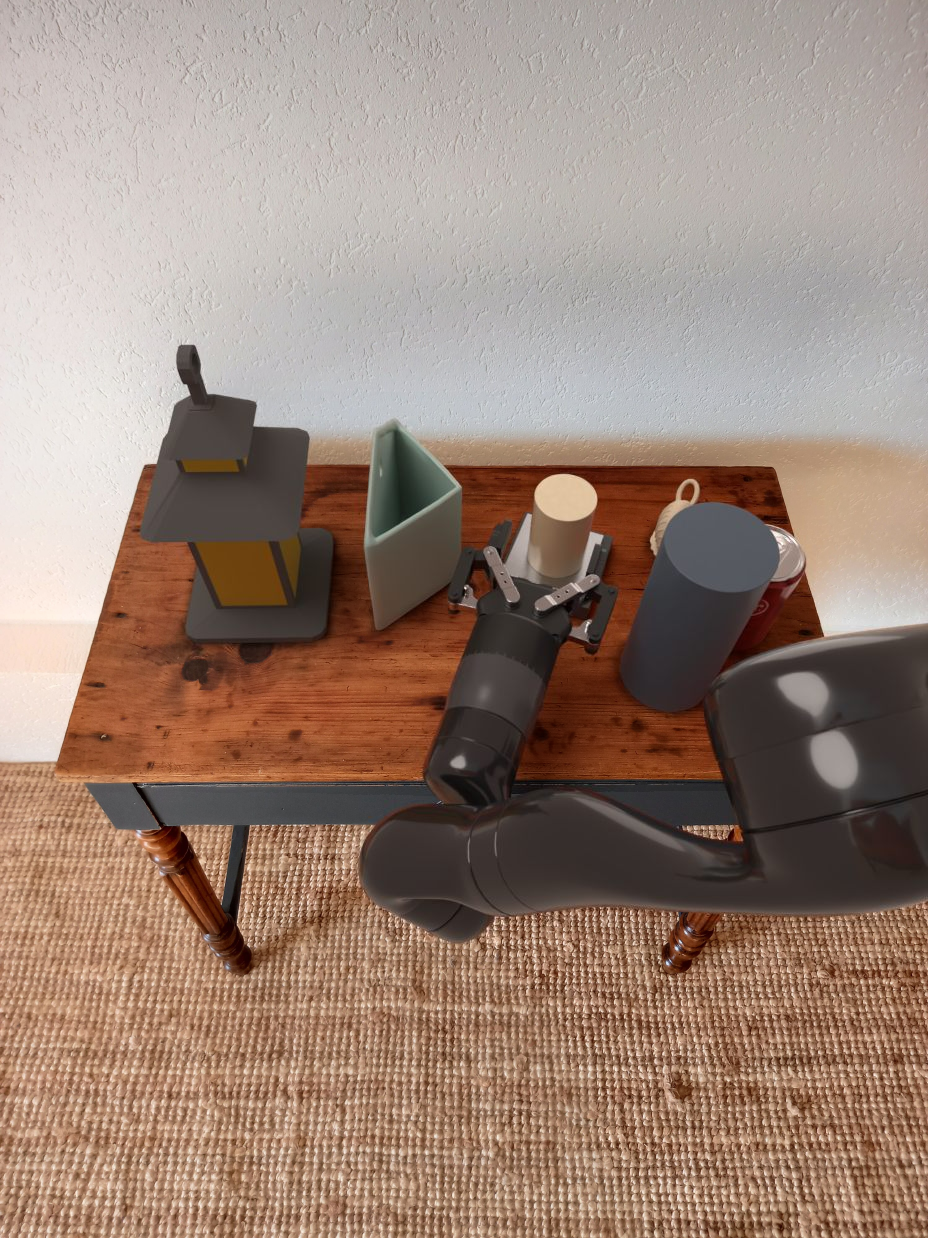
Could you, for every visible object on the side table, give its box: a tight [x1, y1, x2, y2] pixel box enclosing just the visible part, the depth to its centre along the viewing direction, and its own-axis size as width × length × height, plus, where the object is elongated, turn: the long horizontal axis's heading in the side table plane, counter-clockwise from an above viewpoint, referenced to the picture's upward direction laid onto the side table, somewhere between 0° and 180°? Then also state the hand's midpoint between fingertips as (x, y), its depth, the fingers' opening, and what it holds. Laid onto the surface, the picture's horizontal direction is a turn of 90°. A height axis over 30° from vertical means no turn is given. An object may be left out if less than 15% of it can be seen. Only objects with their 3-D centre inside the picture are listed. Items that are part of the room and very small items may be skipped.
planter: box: [363, 417, 463, 631], centre depth 78 cm, size 16×8×20 cm, turn 174°
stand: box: [619, 501, 780, 713], centre depth 71 cm, size 9×9×20 cm
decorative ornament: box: [649, 478, 701, 557], centre depth 87 cm, size 4×8×5 cm, turn 147°
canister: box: [527, 473, 598, 578], centre depth 80 cm, size 6×6×9 cm
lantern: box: [139, 344, 335, 645], centre depth 72 cm, size 14×14×30 cm
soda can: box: [731, 524, 807, 651], centre depth 78 cm, size 7×7×12 cm
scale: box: [502, 510, 614, 621], centre depth 85 cm, size 10×10×3 cm
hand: (552, 537), depth 74 cm, fingers open, 8 cm apart
